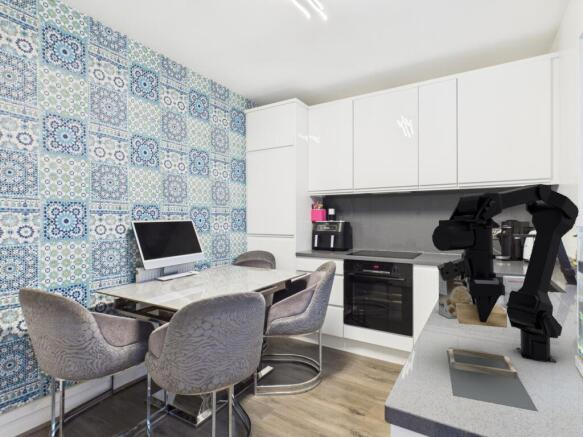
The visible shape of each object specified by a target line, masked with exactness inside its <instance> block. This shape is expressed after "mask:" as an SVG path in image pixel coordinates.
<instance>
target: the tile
mask: <svg viewBox="0 0 583 437" xmlns="http://www.w3.org/2000/svg"><path fill="white" fill-rule="evenodd" d="M456 316H457V318H456V319H457V322H458V324H462V325H471V326H482V327H484V326H485V327H494V328H505V329H507V328H508V314H507V311H505V310H504V308H502V306H501V305H495V306H494V308H493V309H492V311H491V313H490V315H489V317H488V319H487V321H486V322H480V320H479V316H478V311H477V307H476V304H461V303H456Z"/></svg>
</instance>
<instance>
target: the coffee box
mask: <svg viewBox="0 0 583 437" xmlns="http://www.w3.org/2000/svg"><path fill="white" fill-rule="evenodd" d="M461 281H465V278H463V280H461V279H460V277H459V276H458V277H454V278H451V279H450V280H447V281H443V280H442V277H441V275H440V273H439V272H438V314H440V315H441V316H443V317H444V318H447V319H457V316H456V303H461V304H473V303H472V299H471V295H470V294H469V293H468V292H467V288H466V287H465V286H464V285H463V284H462V282H461Z"/></svg>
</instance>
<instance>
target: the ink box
mask: <svg viewBox="0 0 583 437" xmlns="http://www.w3.org/2000/svg"><path fill="white" fill-rule="evenodd" d="M524 278H525V276H519V275H518V276H517V275H503V276H502V284H503V285H504V286H505V295H503V299H502V300H503V306H504V308H506V310H507V306H506V304H507V303H508V300H509V294H510V292H511V291H512V290H513V291H518V290H519V289H520V288H521V287H522V286H523V282H524Z"/></svg>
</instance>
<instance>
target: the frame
mask: <svg viewBox="0 0 583 437" xmlns="http://www.w3.org/2000/svg"><path fill="white" fill-rule="evenodd" d="M448 351H449V357H450V363H451V368H453V369H459V370H466V371H472V372H479V373H485V374H491V375H498V376H504V377H511V378H517V375H518V371H517V370H516V368H515V366H514V364H513V363H512V361H511V359H510V358H509V355H507V354H500V353H493V352H486V351H478V350H472V349H466V348H465V349H463V348H456V347H448ZM454 354H457V355H464V356H471V357H478V358H485V359H492V360H500V361H504V362H505V364H506V366H507V368H508V370H506V369H499V368H493V367H486V366H479V365H472V364H466V363H459V362H455V360H454Z"/></svg>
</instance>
